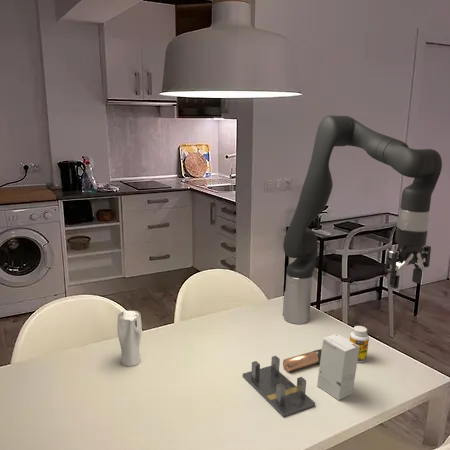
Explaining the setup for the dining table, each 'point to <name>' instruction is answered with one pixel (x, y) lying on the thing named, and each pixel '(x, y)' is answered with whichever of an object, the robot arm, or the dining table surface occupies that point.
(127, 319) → the white sculpted vase
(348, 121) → the robot arm
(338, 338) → the skincare box
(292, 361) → the copper tube
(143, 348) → the dining table surface
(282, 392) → the tube holder
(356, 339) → the supplement bottle
